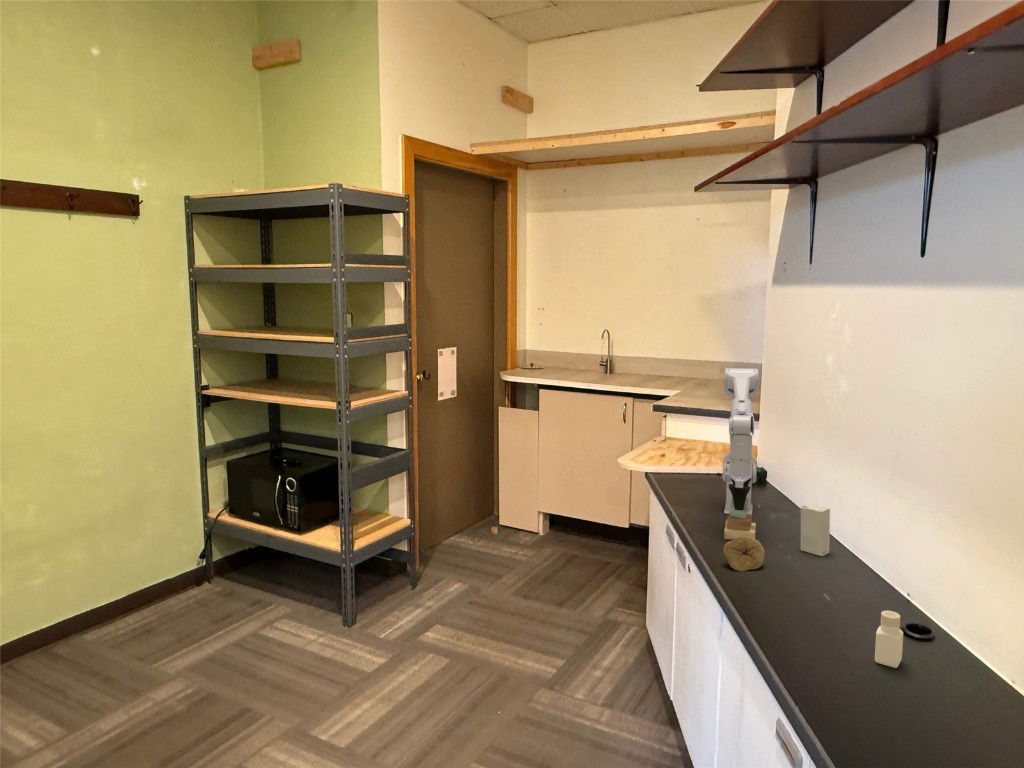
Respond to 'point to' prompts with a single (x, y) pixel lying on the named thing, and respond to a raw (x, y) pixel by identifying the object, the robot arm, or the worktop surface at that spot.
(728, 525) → the walnut block
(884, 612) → the cream bottle
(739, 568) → the fossil
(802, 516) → the skincare box
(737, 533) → the birch slab
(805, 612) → the worktop surface
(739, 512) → the greenish gray cube
